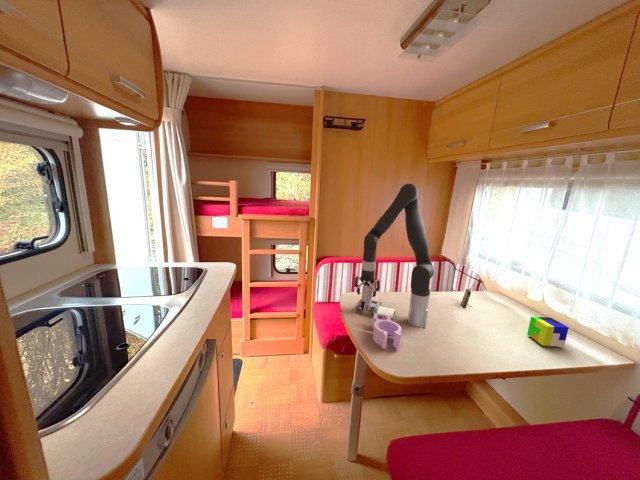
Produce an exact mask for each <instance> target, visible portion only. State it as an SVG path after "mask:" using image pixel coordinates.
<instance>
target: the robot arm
mask: <svg viewBox="0 0 640 480" xmlns="http://www.w3.org/2000/svg"><path fill="white" fill-rule="evenodd" d="M403 210H404V215H405V216H404V217H405V230H406V235H407V240H408V243H409V246H410V247H411V249H412V251H413V253H414V256H415V257H414V258H415V262H416V263H415V265H416V266H414V267H413V269H412V272H411V276H410V288H411V289H410V291H411V292H410V298H409V306H408V307H409V308H408V315H407V323H408V324H409V325H411V326H412V327H417V328H426V326H427V321H428V320H427V319H428V314H429V313H428V312H429V310H428V309H429V302H430V296H431V295H430V294H431V289H430V282H431V279H432V277H433V276H434V275H435V274H434V273H435V269H434V266H433V263H432V259H431V256H430V252H429V246H428V240H427V233H426V227H425V222H424V220H423V217H422V214H421V211H420V205H419V190H418V187H417V186H416V185H415V184H413V183H406V184H403V185H402V186H401V187H400V189H399V190H398V193H397V195H396V196H395V198H394V200H393V201H392V203H391V204H390V206H389V207H388V208H387V209H386V210H385V211H384V213H383V214H382V215H381V217H380V218H379V219H378V220H377V221H376V223H375V224H374V225H373V227H371V229H370V230H369V231H368V232H367V233H366V234H365V237H364V239H363V255H362V264H361V275H360V276H358V275H356V276H355V278H354V283H353V284H354V285H353V286H354V288H357V289H356V290H357V291H356V294H357V295H358V296H360V295H361V287H363V286H371V288H372V298H375V297H376V296H377V292H380V289H381V280H380V279H375V274H376V259H377V252H376V251H377V245H378V241H379V240H380V238H381V237H382V236H383V235H384V234H385V233H386V232H387V231H388V230H389V229H390V228H391V226H392V225H393V223H394V222H395V221H396V219H397V217H398V216H399V215H400V213H401V212H402V211H403ZM359 280H360V283H359V284H358V281H359ZM374 283H375V284H376V286H375V284H374Z"/></svg>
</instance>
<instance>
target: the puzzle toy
mask: <svg viewBox="0 0 640 480" xmlns="http://www.w3.org/2000/svg"><path fill="white" fill-rule="evenodd" d="M528 325H529V326H528V329H527V333H526V334H527V336H529V337H530V338H532V339H533V340H534V341H536V342H537V343H538V344H539V345H541V346H544V347H559V348H564V347H565V345H566V340H567V335H568V333H569V326H567V325H565V324H563V323H561V322H560V321H558V320H556V319H554V318H553V317H549V316H548V317H546V316H530V319H529V324H528Z"/></svg>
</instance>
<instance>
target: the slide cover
mask: <svg viewBox="0 0 640 480" xmlns="http://www.w3.org/2000/svg"><path fill="white" fill-rule="evenodd" d="M380 302H381V301H378V302H377V304H376V303H375V306H374V307H375V310H374V314H378V315H380V316H383V314H386V315H388V316H389V317H390V318H393V314H394V311H396V310H395V308H390V307H386V306H382V305H381V306H380Z"/></svg>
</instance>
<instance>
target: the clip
mask: <svg viewBox="0 0 640 480" xmlns="http://www.w3.org/2000/svg"><path fill="white" fill-rule="evenodd" d="M372 330H373V332H372V333H373V334H372V339H373V341H374V343H376V344H377V345H379V346H381V349H383V350H385V349H386V348H387V344H388V343H387V340H388V336H391V337H393V342H392V346H393V348H394V349H397V350H399V349H400V348H401V347H400V345H401V338H402V326H401V325H400V324H399V323H398V322H395V321H394V320H393V321H391V318H390V317H389V316H388V315H386V314H383V317H382V319H381V318H378V314H375V315H374V317H373V318H372Z"/></svg>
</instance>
